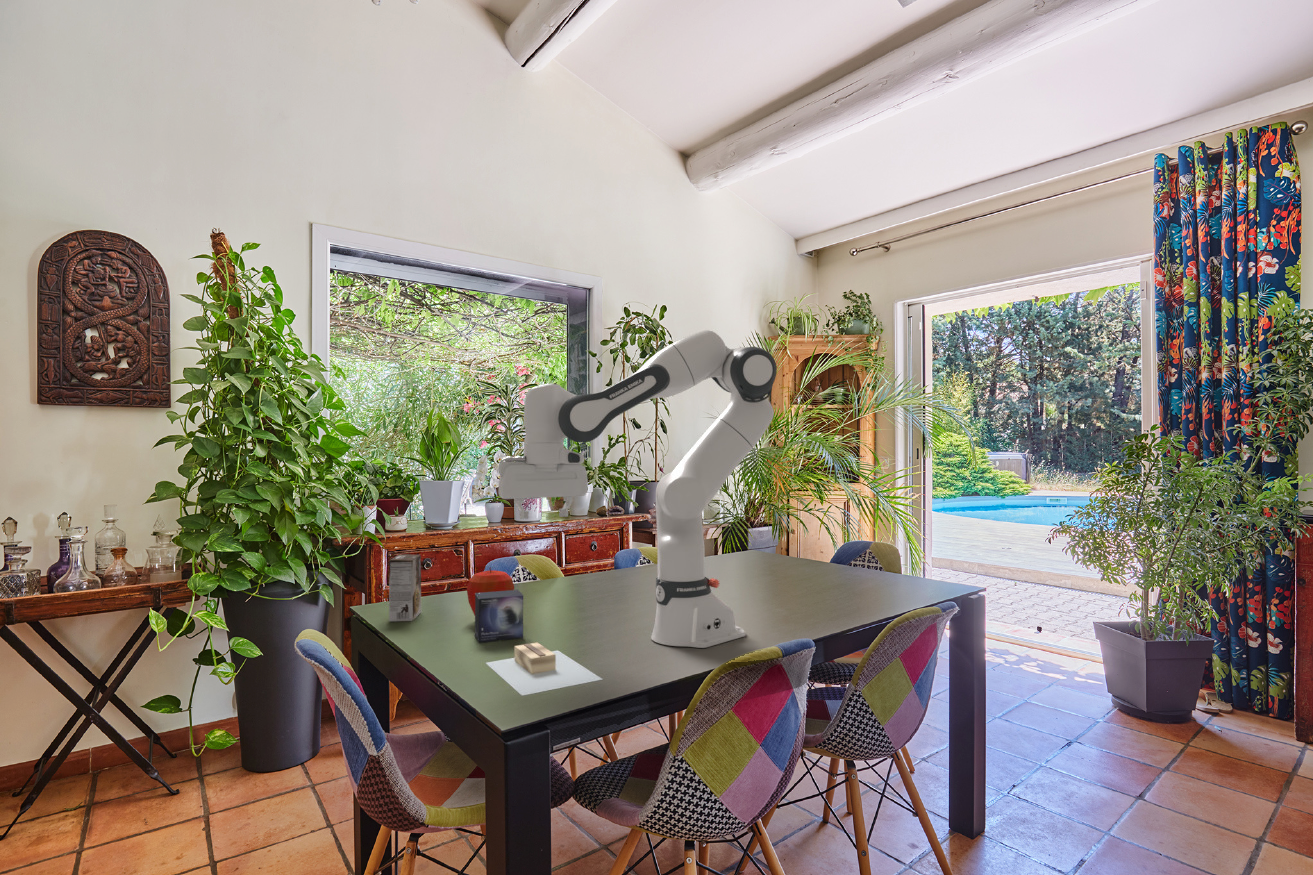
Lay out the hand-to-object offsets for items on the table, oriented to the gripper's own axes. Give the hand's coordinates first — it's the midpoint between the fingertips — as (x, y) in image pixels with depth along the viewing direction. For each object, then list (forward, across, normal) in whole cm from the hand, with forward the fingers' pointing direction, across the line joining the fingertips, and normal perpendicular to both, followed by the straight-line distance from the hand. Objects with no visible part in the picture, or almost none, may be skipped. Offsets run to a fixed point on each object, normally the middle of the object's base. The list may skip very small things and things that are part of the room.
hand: (544, 517), depth 151 cm
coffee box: (+29, -21, +47) cm, 59 cm away
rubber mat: (+29, -7, -16) cm, 34 cm away
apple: (+29, -3, +30) cm, 42 cm away
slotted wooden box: (+28, -7, -12) cm, 32 cm away
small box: (+29, -6, +14) cm, 33 cm away
